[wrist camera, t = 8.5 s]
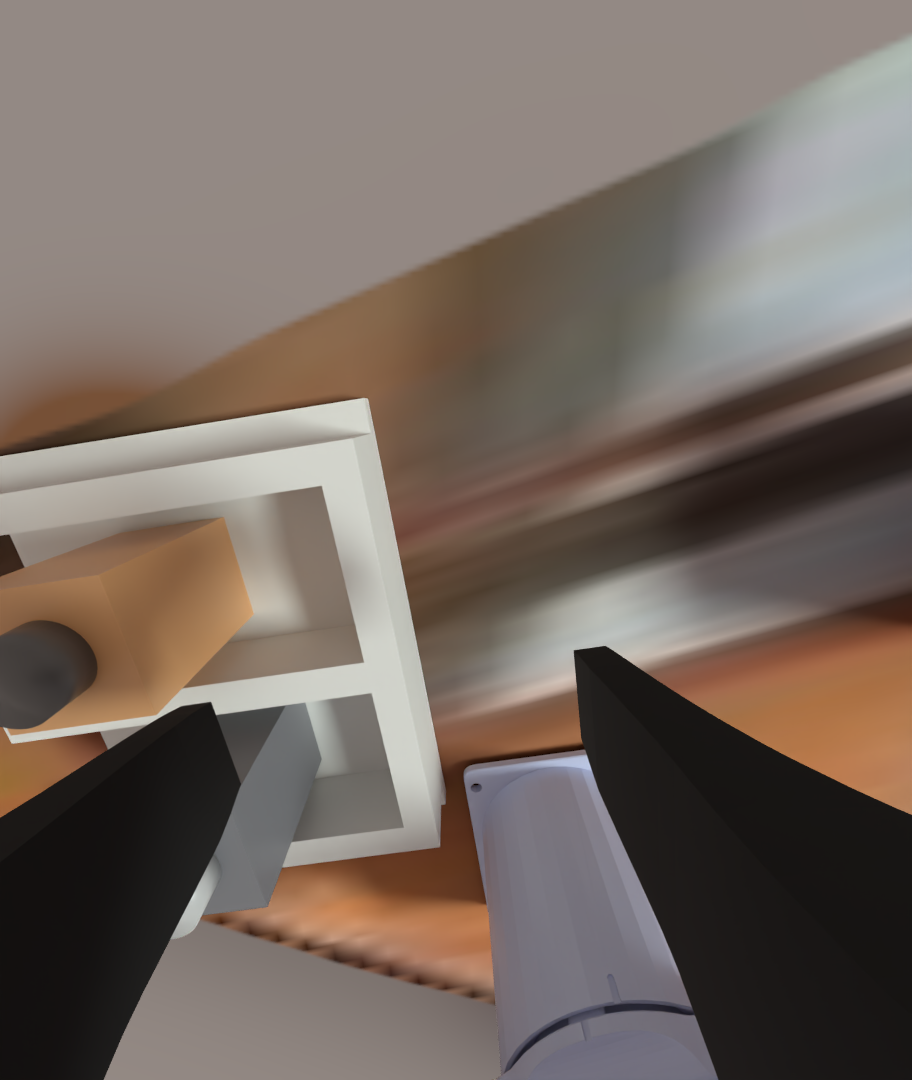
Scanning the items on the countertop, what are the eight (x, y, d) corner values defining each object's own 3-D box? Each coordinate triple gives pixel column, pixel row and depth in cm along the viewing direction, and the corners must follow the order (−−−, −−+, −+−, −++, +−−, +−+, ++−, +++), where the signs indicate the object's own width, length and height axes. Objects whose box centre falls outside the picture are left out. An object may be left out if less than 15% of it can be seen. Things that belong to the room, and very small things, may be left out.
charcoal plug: (321, 759, 19) (250, 952, 12) (233, 771, 19) (114, 969, 12) (299, 681, 18) (206, 847, 11) (205, 694, 18) (57, 866, 11)
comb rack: (445, 789, 21) (445, 869, 17) (162, 827, 21) (102, 913, 18) (367, 398, 16) (343, 394, 12) (-3, 458, 16) (-133, 471, 13)
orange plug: (253, 614, 17) (123, 748, 10) (156, 628, 17) (-38, 771, 10) (223, 516, 16) (54, 595, 9) (119, 533, 16) (-125, 621, 9)
